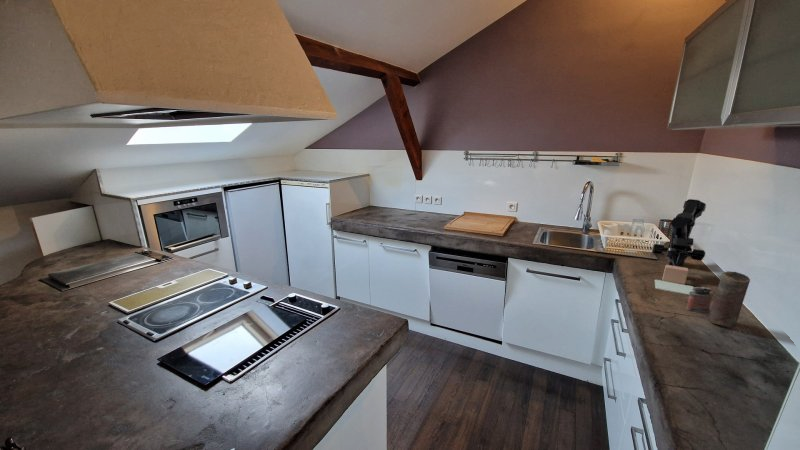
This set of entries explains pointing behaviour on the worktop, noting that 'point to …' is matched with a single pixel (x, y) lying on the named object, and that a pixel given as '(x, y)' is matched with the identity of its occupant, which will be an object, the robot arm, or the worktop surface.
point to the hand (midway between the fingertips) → (675, 267)
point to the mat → (673, 287)
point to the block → (675, 274)
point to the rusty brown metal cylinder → (729, 299)
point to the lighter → (699, 299)
